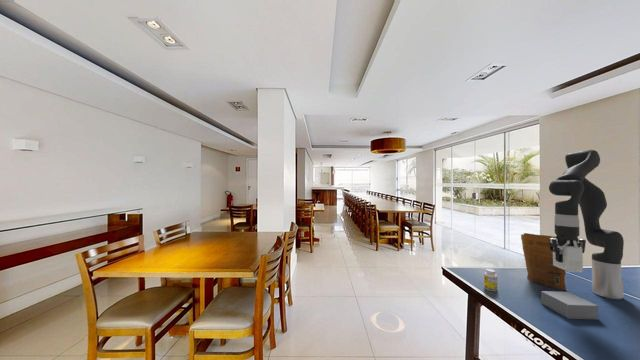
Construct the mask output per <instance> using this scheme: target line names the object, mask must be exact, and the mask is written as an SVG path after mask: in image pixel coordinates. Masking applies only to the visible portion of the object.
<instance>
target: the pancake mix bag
mask: <svg viewBox="0 0 640 360" xmlns="http://www.w3.org/2000/svg"><path fill="white" fill-rule="evenodd" d="M549 238H552V239H553V238H556V236H552V235H543V234H534V233H528V232H524V233H522V234H520V239H521V246H522V252H523V257H524V261H525V267H526V272H527V277H526V279H527V280H529V281H530V282H533V283H536V284H540V285H543V286H547V287H550V288H553V289H555V290H561V291H562V290H563V291H565V290H566V291H567V287H566V281H565V280H566V279H565V278H566V271H565V270H563V269H561V268H558V267H556V266H554V265H553V251H550V247H549V240H548V239H549Z"/></svg>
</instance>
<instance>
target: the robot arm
mask: <svg viewBox="0 0 640 360" xmlns="http://www.w3.org/2000/svg"><path fill="white" fill-rule="evenodd" d="M564 158H565V159H564V160H565V164H566V167H567V169H566V170H565V171H564V172H563V173H562V175H561V176H559V177H557V178H555V179H553V180H552V181H551V182H550V184H549V185H548V190H549V193H551V194H552V195H554V196H564V197H566V196H567V197H570V198H569V199H567V200H557V201H556V202H555V204H554V209H555V210H554V222H553V223H554V234H555V237H556V238H553V239H552V238H549V239H548V240H549V247H550V251H553V252H555V259H556V261H557V262H563V254H562V253H563V249H564V247H567V246H575V247H579V248H582V254H584V253H585V251H586V243H587V242H588V243H589V244H590V245H591V246H592V245H593V246H596V247H599V248H603V252H594V253H592V254H591V289H592V290H591V291H592V293H593V294H595V295H597V296H600V297H604V298H607V299H612V300H622V299H624V298H625V297H624V296H625V295H624V293H625V292H624V279H623V278H622V260H623V257H624V247H625V246H624V244H625V243H624V241H625V240H624V237H623V234H621V232H618V231H616V230H609V229H603V228H601V225H600V218H601V216H602V215H603V213H604V212H605V211H606V209H607V207H608V202H607V199H606V196H605V192H604V191H603V190H602V189H601V188H600V187H598V185H596V184H594V183H593V182H591V181H590V180H589V179H587V178H586V177H587V176H588V174H590V173H591V172H593V171H594V170H595V169H597V167H599V165H600V164H601V157H600V154H599V153H598V151H597V150H595V149H587V150H581V151H580V150H579V151H574V152H569V153H566V155H565V157H564ZM579 208H580V211H581V215H582V220H583V226H584V232H585V233H584V234H585V237H586V239H582V238H579V236H580V218H579ZM586 240H587V241H586ZM558 245H561V246H562V247H560V246H558ZM553 247H554V249H553ZM559 248H560V250H559Z"/></svg>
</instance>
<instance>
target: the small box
mask: <svg viewBox="0 0 640 360" xmlns="http://www.w3.org/2000/svg"><path fill="white" fill-rule="evenodd" d="M558 246H560V247H562V246H561V245H558ZM553 249H554V247H553ZM559 250H560V248H559ZM562 254H563V262H557V261H556V259H555V252H553V265H554V266H556V267H558V268H561V269H563V270H565V272H570V273H583V272H584V265H583V264H584V263H583V262H584V261H583V259H584V258H583V253H582V248H581V247H580V248H579V247H575V246H567V247H564V249H563V253H562Z"/></svg>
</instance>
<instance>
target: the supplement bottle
mask: <svg viewBox="0 0 640 360" xmlns="http://www.w3.org/2000/svg"><path fill="white" fill-rule="evenodd" d="M483 276H484V288H485V289H486V290H487V291H489V292H497V291H498V275H497V273H496V270H494V269H492V268H486V269H485V272H484V274H483Z"/></svg>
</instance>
